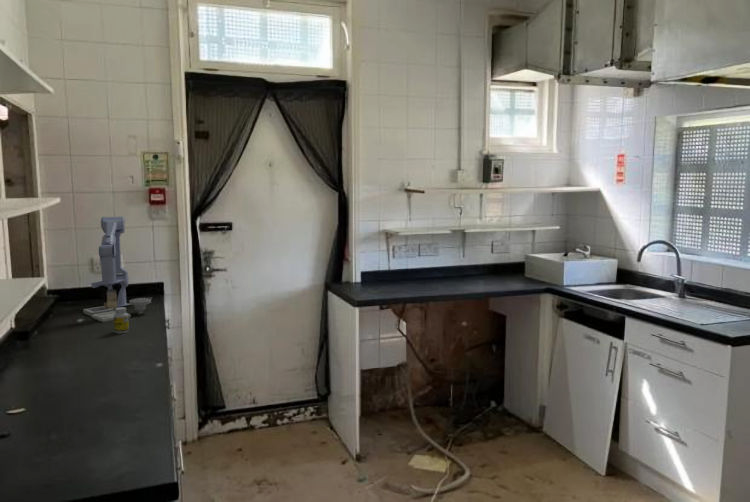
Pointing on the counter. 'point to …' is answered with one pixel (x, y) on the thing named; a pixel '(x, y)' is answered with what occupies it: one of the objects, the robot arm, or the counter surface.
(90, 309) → the holder
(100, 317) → the tray
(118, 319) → the supplement bottle
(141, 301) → the showerhead
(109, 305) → the peg
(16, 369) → the counter surface
